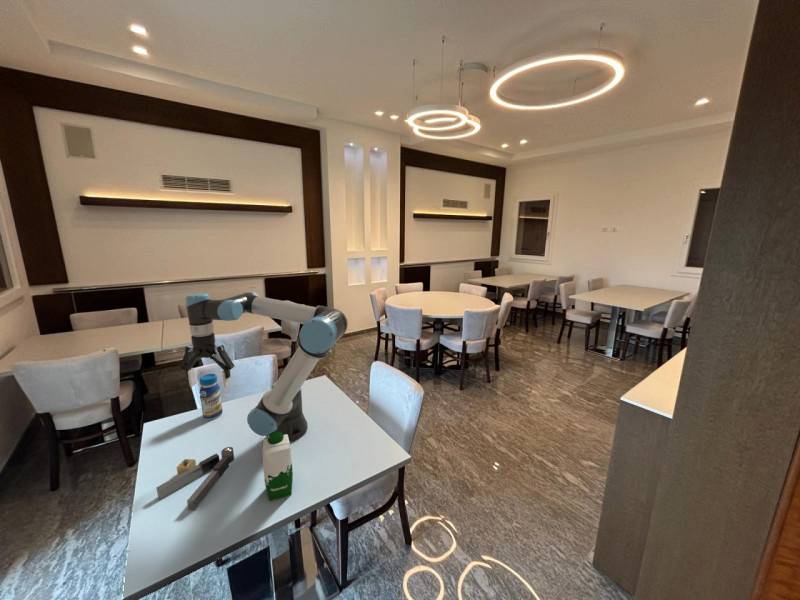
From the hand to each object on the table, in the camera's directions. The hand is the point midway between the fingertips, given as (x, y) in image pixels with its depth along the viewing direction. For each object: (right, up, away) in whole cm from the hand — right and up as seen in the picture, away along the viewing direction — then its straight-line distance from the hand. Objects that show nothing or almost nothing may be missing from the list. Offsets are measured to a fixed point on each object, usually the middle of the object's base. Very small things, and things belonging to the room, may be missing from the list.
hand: (210, 385), depth 123 cm
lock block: (-2, -29, -10) cm, 31 cm away
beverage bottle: (-14, -22, +26) cm, 36 cm away
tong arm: (+1, -30, -13) cm, 32 cm away
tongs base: (+9, -30, -13) cm, 34 cm away
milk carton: (+34, -31, -17) cm, 49 cm away
